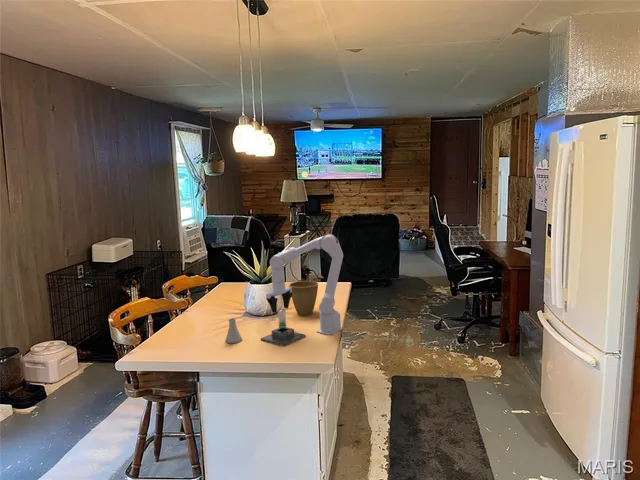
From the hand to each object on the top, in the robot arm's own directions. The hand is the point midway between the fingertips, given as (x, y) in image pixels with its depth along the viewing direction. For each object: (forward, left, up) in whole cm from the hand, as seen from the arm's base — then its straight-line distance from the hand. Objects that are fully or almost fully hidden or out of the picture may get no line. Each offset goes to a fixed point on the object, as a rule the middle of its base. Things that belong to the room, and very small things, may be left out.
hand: (280, 310), depth 221 cm
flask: (+20, -10, -11) cm, 25 cm away
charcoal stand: (+6, +7, -10) cm, 14 cm away
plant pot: (-27, -10, -11) cm, 31 cm away
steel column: (+6, +7, -5) cm, 11 cm away
